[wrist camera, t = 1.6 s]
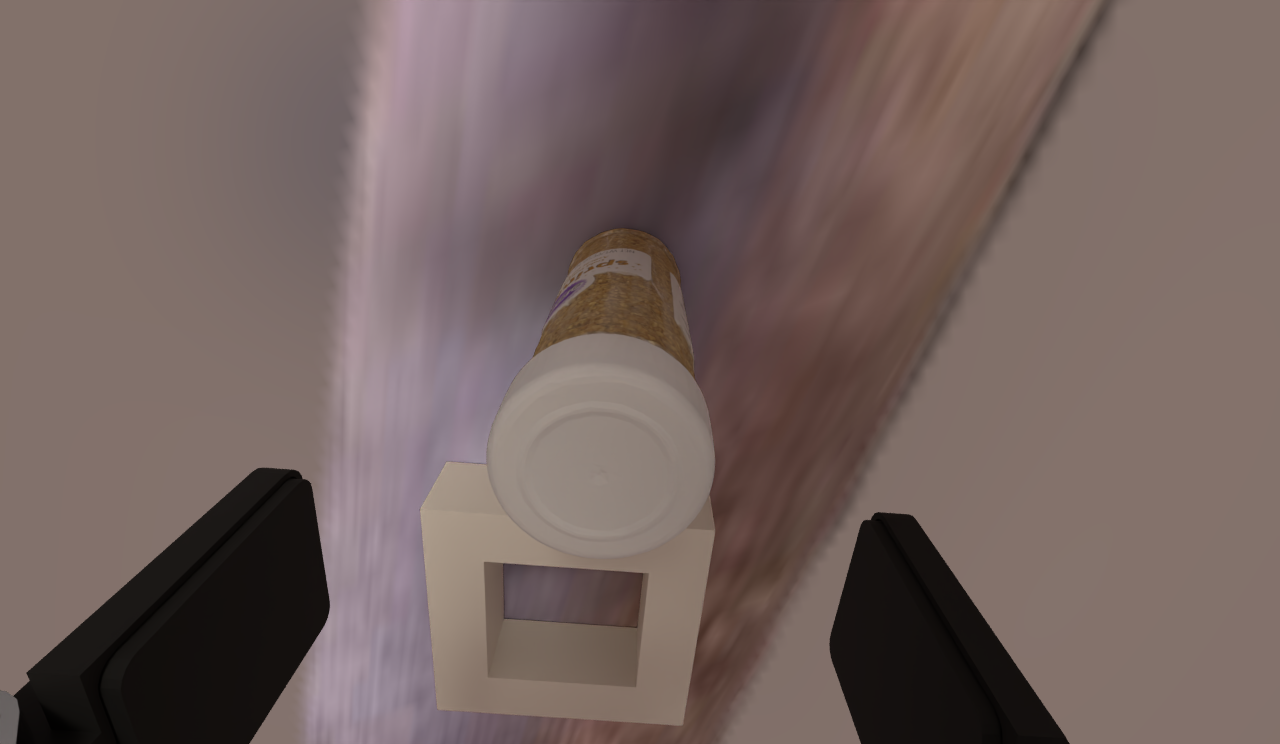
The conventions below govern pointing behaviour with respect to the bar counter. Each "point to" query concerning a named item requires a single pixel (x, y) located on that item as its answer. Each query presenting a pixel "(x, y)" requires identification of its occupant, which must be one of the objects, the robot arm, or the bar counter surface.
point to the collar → (551, 651)
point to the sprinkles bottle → (607, 410)
